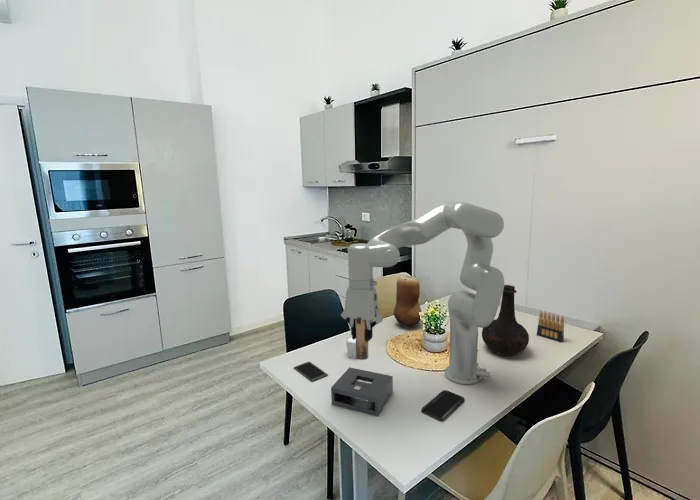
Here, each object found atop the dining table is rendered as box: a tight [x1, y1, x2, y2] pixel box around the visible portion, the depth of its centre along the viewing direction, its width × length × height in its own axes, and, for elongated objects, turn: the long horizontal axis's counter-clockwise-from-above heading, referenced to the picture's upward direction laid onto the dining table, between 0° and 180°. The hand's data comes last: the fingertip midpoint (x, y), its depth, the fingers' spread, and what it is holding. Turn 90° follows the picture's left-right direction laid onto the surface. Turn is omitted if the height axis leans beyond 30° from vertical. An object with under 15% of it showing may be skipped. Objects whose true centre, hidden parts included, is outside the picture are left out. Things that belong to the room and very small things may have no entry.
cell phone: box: [293, 361, 329, 383], centre depth 138 cm, size 7×14×1 cm, turn 38°
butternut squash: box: [393, 275, 422, 329], centre depth 178 cm, size 14×13×25 cm
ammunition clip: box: [536, 309, 565, 344], centre depth 160 cm, size 11×2×12 cm, turn 38°
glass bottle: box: [481, 284, 530, 356], centre depth 148 cm, size 18×18×28 cm
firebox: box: [330, 366, 394, 417], centre depth 119 cm, size 16×14×6 cm
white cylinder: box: [345, 336, 357, 359], centre depth 149 cm, size 7×7×7 cm
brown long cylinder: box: [355, 318, 369, 361], centre depth 115 cm, size 4×4×16 cm
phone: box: [420, 389, 466, 423], centre depth 115 cm, size 8×1×15 cm
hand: (361, 338), depth 116 cm, fingers closed on brown long cylinder, 4 cm apart
